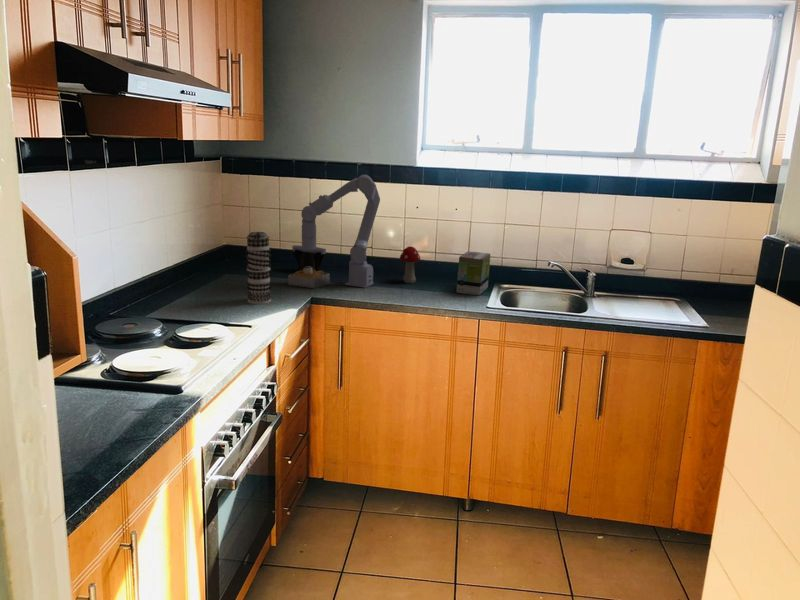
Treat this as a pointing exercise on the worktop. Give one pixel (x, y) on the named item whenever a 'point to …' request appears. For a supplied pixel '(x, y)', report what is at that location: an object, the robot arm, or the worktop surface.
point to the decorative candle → (258, 268)
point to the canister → (308, 270)
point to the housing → (308, 279)
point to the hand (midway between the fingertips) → (309, 269)
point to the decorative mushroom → (409, 263)
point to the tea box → (473, 273)
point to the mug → (309, 260)
